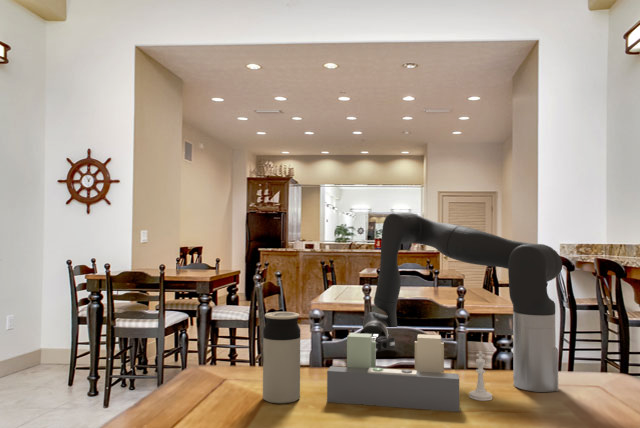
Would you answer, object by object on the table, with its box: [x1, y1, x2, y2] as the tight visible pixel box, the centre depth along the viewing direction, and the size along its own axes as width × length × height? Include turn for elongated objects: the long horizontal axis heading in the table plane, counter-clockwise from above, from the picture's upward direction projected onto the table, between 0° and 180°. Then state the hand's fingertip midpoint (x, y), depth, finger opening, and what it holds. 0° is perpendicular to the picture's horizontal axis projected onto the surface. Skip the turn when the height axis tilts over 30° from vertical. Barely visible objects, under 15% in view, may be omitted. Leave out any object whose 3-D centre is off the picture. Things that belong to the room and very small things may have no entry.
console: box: [326, 365, 460, 413], centre depth 115 cm, size 27×12×7 cm, turn 78°
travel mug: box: [262, 311, 301, 405], centre depth 114 cm, size 8×8×18 cm
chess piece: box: [468, 350, 493, 402], centre depth 116 cm, size 5×5×10 cm
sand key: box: [414, 333, 445, 373], centre depth 117 cm, size 6×5×11 cm
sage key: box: [346, 332, 377, 368], centre depth 118 cm, size 6×5×11 cm
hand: (367, 349), depth 131 cm, fingers closed
